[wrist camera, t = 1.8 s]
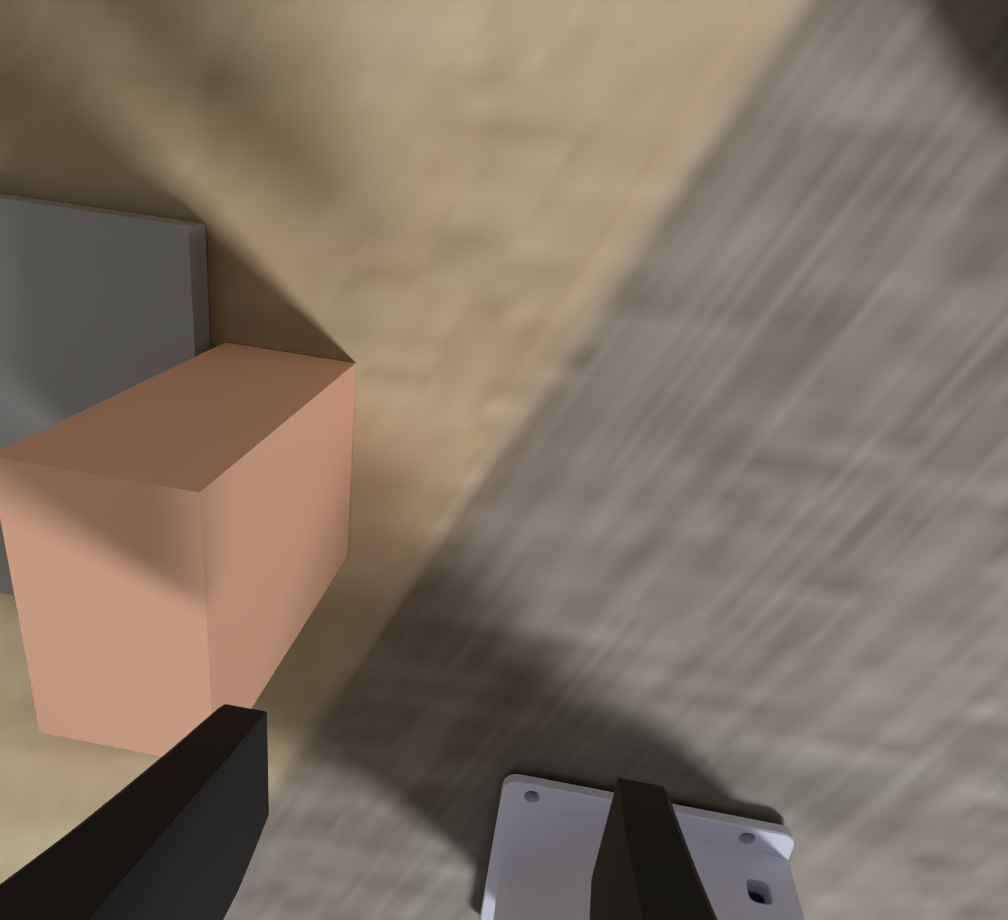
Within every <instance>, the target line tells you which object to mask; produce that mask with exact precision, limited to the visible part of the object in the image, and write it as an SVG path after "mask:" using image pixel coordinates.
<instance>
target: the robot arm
mask: <svg viewBox="0 0 1008 920" xmlns="http://www.w3.org/2000/svg"><path fill="white" fill-rule="evenodd" d="M528 791H534V792H537V793H531V792H528ZM268 815H269V804H268V752H267V712H265V711H260V710H255V709H249V708H244V707H239V706H233V705H228V704H224V705H223V706H221V707H220V708H218V709H217V710H216V711H214V712H213V713H212V714H211V715H210V716H209V717H207V718H206V719H205V720H204V721H203V722H202V723H200V724H199V725H198V726H197V727H196V728H195V729H194V730H192V731H191V732H190V733H189V734H188V735H187V736H185V737H184V738H183V739H182V740H181V741H180V742H179V743H177V744H176V745H175V746H174V747H173V748H172V749H170V750H169V751H168V752H167V753H166V754H165V755H163V756H162V757H161V758H160V759H159V760H157V761H156V762H155V763H154V764H153V765H152V766H150V767H149V768H148V769H147V770H146V771H144V772H143V773H142V774H141V775H140V776H138V777H137V778H136V779H135V780H134V781H132V782H131V783H130V784H129V785H128V786H126V787H125V788H124V789H123V790H121V791H120V792H119V793H118V794H116V795H115V796H114V797H113V798H112V799H110V800H109V801H108V802H107V803H105V804H104V805H103V806H102V807H100V808H99V809H98V810H97V811H95V812H94V813H93V814H92V815H91V816H89V817H88V818H87V819H86V820H84V821H83V822H82V823H81V824H79V825H78V826H77V827H76V828H74V829H73V830H72V831H70V832H69V833H68V834H67V835H65V836H64V837H63V838H61V839H60V840H59V841H58V842H56V843H55V844H54V845H52V846H51V847H49V848H48V849H47V850H45V851H44V852H43V853H41V854H40V855H39V856H37V857H36V858H35V859H33V860H32V861H31V862H29V863H28V864H27V865H25V866H24V867H23V868H21V869H20V870H19V871H17V872H16V873H15V874H13V875H12V876H11V877H9V878H8V879H7V880H5V881H4V882H3V883H1V884H0V920H223V919H224V917H225V915H226V913H227V911H228V909H229V907H230V905H231V903H232V901H233V899H234V897H235V896H236V894H237V892H238V889H239V887H240V885H241V882H242V880H243V877H244V875H245V872H246V870H247V868H248V865H249V863H250V860H251V858H252V855H253V853H254V850H255V848H256V845H257V843H258V840H259V838H260V835H261V833H262V830H263V827H264V825H265V822H266V820H267V817H268ZM743 833H748V834H743ZM793 847H794V840H793V836H792V833H791V831H790V830H789V829H788V828H787V827H786V826H783V825H780V824H775V823H770V822H765V821H760V820H754V819H749V818H744V817H739V816H734V815H728V814H723V813H718V812H713V811H708V810H702V809H697V808H692V807H687V806H682V805H677V804H672V802H671V799H670V796H669V794H668V792H667V791H666V790H665V789H664V787H663V786H658V785H653V784H647V783H642V782H637V781H631V780H626V779H621V778H618V780H617V784H616V787H615V791H614V792H609V791H604V790H599V789H594V788H588V787H583V786H578V785H573V784H568V783H563V782H557V781H552V780H547V779H542V778H537V777H531V776H526V775H521V774H513V775H509V776H508V777H506V778H505V779H504V782H503V786H502V791H501V797H500V803H499V809H498V815H497V821H496V826H495V832H494V838H493V844H492V850H491V855H490V861H489V867H488V873H487V879H486V885H485V890H484V896H483V902H482V908H481V914H480V920H805V919H804V916H803V912H802V909H801V905H800V901H799V898H798V894H797V890H796V887H795V883H794V880H793V876H792V872H791V869H790V865H789V861H788V859H789V857H790V854H791V852H792V849H793Z"/></svg>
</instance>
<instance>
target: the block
mask: <svg viewBox="0 0 1008 920" xmlns="http://www.w3.org/2000/svg"><path fill="white" fill-rule="evenodd" d="M355 372H356V363H352V362H346V361H340V360H333V359H327V358H321V357H314V356H308V355H302V354H296V353H289V352H283V351H277V350H270V349H264V348H258V347H251V346H245V345H239V344H232V343H226V342H225V343H223V344H221V345H219V346H217V347H215V348H212V349H210V350H208V351H206V352H204V353H202V354H200V355H198V356H196V357H194V358H192V359H190V360H187V361H185V362H183V363H181V364H179V365H177V366H175V367H173V368H171V369H169V370H167V371H165V372H163V373H160V374H158V375H156V376H154V377H152V378H150V379H148V380H146V381H144V382H142V383H140V384H138V385H135V386H133V387H131V388H129V389H127V390H125V391H123V392H121V393H119V394H117V395H115V396H113V397H111V398H108V399H106V400H104V401H102V402H100V403H98V404H96V405H94V406H92V407H90V408H88V409H86V410H83V411H81V412H79V413H77V414H75V415H73V416H71V417H69V418H67V419H65V420H63V421H61V422H59V423H56V424H54V425H52V426H50V427H48V428H46V429H44V430H42V431H40V432H38V433H36V434H34V435H31V436H29V437H27V438H25V439H23V440H21V441H19V442H17V443H15V444H13V445H11V446H9V447H7V448H4V449H2V450H0V520H1V525H2V531H3V536H4V542H5V547H6V552H7V558H8V563H9V569H10V574H11V580H12V585H13V590H14V596H15V601H16V607H17V612H18V617H19V623H20V628H21V634H22V639H23V644H24V650H25V655H26V661H27V666H28V671H29V677H30V682H31V688H32V693H33V699H34V704H35V709H36V715H37V720H38V726H39V731H40V733H46V734H51V735H56V736H61V737H66V738H71V739H76V740H81V741H86V742H91V743H96V744H101V745H106V746H112V747H117V748H122V749H127V750H132V751H137V752H142V753H147V754H152V755H157V756H163V755H165V754H166V753H167V752H168V751H169V750H170V749H172V748H173V747H174V746H175V745H176V744H177V743H179V742H180V741H181V740H182V739H183V738H184V737H185V736H187V735H188V734H189V733H190V732H191V731H192V730H194V729H195V728H196V727H197V726H198V725H199V724H200V723H202V722H203V721H204V720H205V719H206V718H207V717H209V716H210V715H211V714H212V713H213V712H214V711H216V710H217V709H218V708H220V707H221V706H223V705H224V704H228V705H233V706H239V707H244V708H249V709H251V708H252V707H253V705H254V704H255V702H256V700H257V699H258V697H259V696H260V694H261V693H262V691H263V689H264V688H265V686H266V685H267V683H268V682H269V680H270V678H271V677H272V675H273V674H274V672H275V670H276V669H277V667H278V666H279V664H280V663H281V661H282V659H283V658H284V656H285V655H286V653H287V652H288V650H289V648H290V647H291V645H292V644H293V642H294V640H295V639H296V637H297V636H298V634H299V633H300V631H301V629H302V628H303V626H304V625H305V623H306V622H307V620H308V618H309V617H310V615H311V614H312V612H313V610H314V609H315V607H316V606H317V604H318V603H319V601H320V599H321V598H322V596H323V595H324V593H325V592H326V590H327V588H328V587H329V585H330V584H331V582H332V580H333V579H334V577H335V576H336V574H337V573H338V571H339V569H340V568H341V566H342V565H343V563H344V562H345V560H346V558H347V557H348V537H349V514H350V490H351V467H352V443H353V419H354V396H355Z"/></svg>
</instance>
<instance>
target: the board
mask: <svg viewBox="0 0 1008 920" xmlns="http://www.w3.org/2000/svg"><path fill="white" fill-rule="evenodd" d="M210 349H211V346H210V323H209V300H208V277H207V253H206V230H205V223H198V222H191V221H185V220H178V219H171V218H164V217H158V216H151V215H144V214H137V213H131V212H124V211H117V210H110V209H104V208H97V207H90V206H83V205H77V204H70V203H63V202H56V201H50V200H43V199H36V198H29V197H23V196H16V195H9V194H2V193H0V450H2V449H4V448H7V447H9V446H11V445H13V444H15V443H17V442H19V441H21V440H23V439H25V438H27V437H29V436H31V435H34V434H36V433H38V432H40V431H42V430H44V429H46V428H48V427H50V426H52V425H54V424H56V423H59V422H61V421H63V420H65V419H67V418H69V417H71V416H73V415H75V414H77V413H79V412H81V411H83V410H86V409H88V408H90V407H92V406H94V405H96V404H98V403H100V402H102V401H104V400H106V399H108V398H111V397H113V396H115V395H117V394H119V393H121V392H123V391H125V390H127V389H129V388H131V387H133V386H135V385H138V384H140V383H142V382H144V381H146V380H148V379H150V378H152V377H154V376H156V375H158V374H160V373H163V372H165V371H167V370H169V369H171V368H173V367H175V366H177V365H179V364H181V363H183V362H185V361H187V360H190V359H192V358H194V357H196V356H198V355H200V354H202V353H204V352H206V351H208V350H210ZM0 592H1V593H6V594H12V595H14V590H13V585H12V580H11V574H10V569H9V563H8V558H7V552H6V547H5V542H4V536H3V531H2V525H1V520H0Z"/></svg>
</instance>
